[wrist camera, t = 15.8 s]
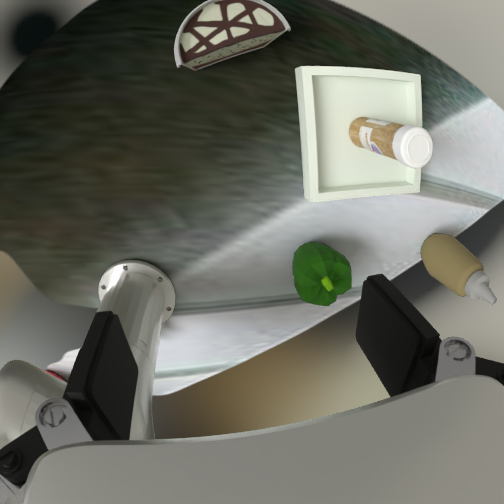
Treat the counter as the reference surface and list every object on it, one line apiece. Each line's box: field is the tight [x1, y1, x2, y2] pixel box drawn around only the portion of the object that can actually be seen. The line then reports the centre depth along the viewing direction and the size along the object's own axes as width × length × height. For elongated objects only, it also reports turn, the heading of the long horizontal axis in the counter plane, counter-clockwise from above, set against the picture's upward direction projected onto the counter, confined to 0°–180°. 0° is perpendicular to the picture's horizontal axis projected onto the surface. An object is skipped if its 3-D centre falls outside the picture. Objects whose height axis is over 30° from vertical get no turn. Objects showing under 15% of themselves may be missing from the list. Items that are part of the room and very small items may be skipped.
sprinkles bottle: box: [349, 117, 433, 169], centre depth 33 cm, size 5×5×14 cm
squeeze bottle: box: [421, 233, 497, 305], centre depth 42 cm, size 8×8×18 cm
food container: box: [174, 0, 291, 71], centre depth 28 cm, size 12×6×10 cm, turn 110°
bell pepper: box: [292, 242, 351, 306], centre depth 43 cm, size 8×8×10 cm
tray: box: [295, 66, 422, 203], centre depth 38 cm, size 18×18×3 cm
